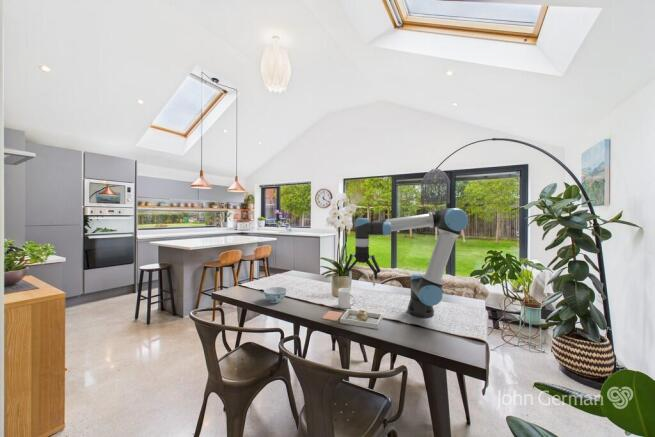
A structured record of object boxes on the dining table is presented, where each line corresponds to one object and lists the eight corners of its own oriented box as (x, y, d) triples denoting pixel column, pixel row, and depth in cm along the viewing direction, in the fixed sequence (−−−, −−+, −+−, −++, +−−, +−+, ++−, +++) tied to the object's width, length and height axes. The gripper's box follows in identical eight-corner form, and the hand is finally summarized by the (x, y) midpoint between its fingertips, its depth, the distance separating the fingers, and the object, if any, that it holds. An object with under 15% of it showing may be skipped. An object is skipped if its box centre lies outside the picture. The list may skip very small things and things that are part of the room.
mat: (343, 313, 163) (343, 312, 163) (336, 321, 152) (336, 320, 152) (329, 311, 166) (329, 310, 166) (321, 318, 155) (321, 318, 155)
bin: (382, 318, 156) (382, 313, 156) (377, 328, 142) (377, 324, 142) (348, 313, 163) (348, 309, 163) (340, 322, 149) (340, 318, 149)
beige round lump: (367, 319, 154) (367, 310, 154) (365, 323, 149) (365, 314, 149) (358, 318, 156) (358, 309, 156) (356, 321, 151) (356, 312, 151)
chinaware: (276, 307, 173) (276, 295, 173) (259, 302, 181) (259, 291, 181) (291, 300, 186) (291, 289, 186) (274, 296, 194) (274, 285, 194)
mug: (350, 311, 166) (350, 293, 166) (335, 306, 174) (335, 290, 174) (358, 307, 173) (358, 290, 172) (343, 303, 181) (343, 287, 180)
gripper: (385, 246, 150) (385, 284, 151) (342, 244, 159) (342, 279, 160) (383, 248, 143) (383, 288, 144) (338, 245, 152) (338, 283, 153)
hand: (361, 283), depth 152 cm, fingers open, 13 cm apart
